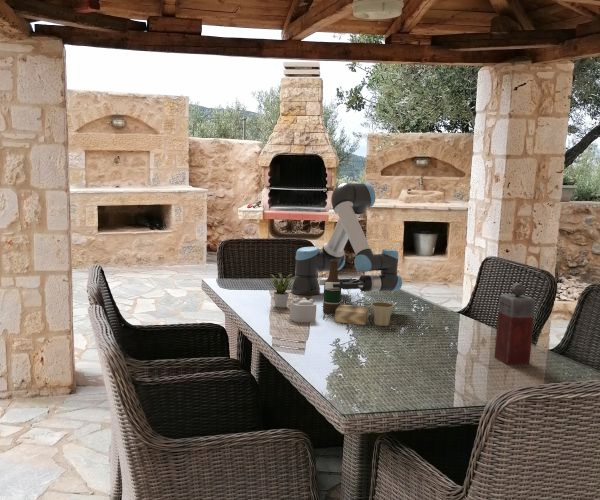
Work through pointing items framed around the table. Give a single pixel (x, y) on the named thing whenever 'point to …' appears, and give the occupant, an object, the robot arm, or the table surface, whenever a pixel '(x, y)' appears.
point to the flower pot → (382, 313)
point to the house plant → (281, 291)
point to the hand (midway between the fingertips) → (322, 283)
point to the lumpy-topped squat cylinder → (302, 310)
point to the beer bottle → (332, 290)
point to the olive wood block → (352, 314)
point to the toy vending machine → (514, 327)
